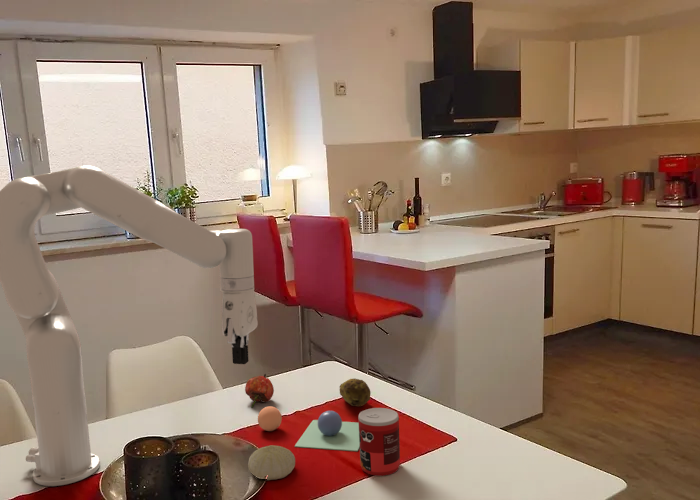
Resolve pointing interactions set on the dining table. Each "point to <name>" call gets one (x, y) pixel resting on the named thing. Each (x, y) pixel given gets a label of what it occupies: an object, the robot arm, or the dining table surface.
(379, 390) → the dining table surface
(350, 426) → the green mark
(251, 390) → the pomegranate
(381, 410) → the canned food
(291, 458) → the sea urchin shell
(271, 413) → the peach ball
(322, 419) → the blue ball
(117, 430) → the dining table surface
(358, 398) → the potato
